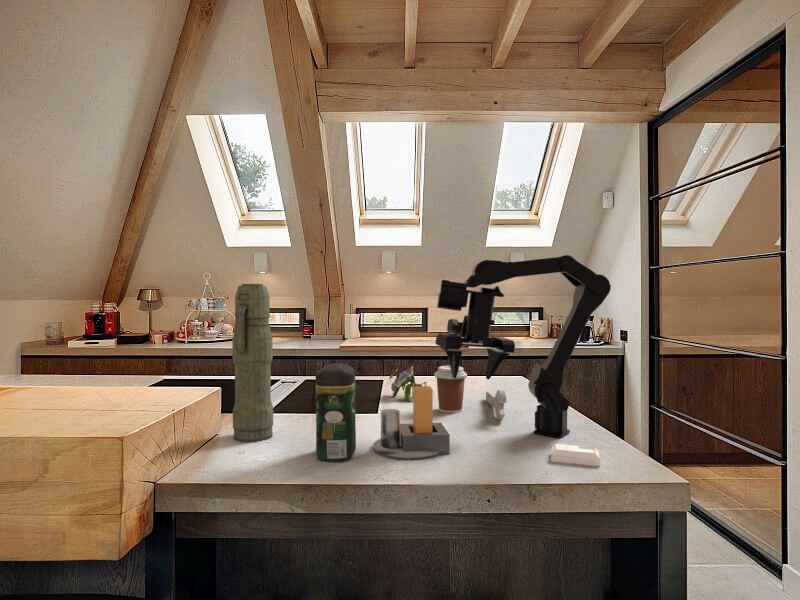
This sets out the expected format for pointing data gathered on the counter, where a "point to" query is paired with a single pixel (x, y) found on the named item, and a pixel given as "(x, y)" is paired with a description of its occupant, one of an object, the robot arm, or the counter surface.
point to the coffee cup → (450, 389)
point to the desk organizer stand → (409, 439)
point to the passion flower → (404, 382)
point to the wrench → (497, 402)
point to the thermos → (252, 364)
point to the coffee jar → (335, 412)
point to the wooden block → (422, 409)
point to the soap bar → (575, 454)
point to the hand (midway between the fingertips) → (471, 378)
